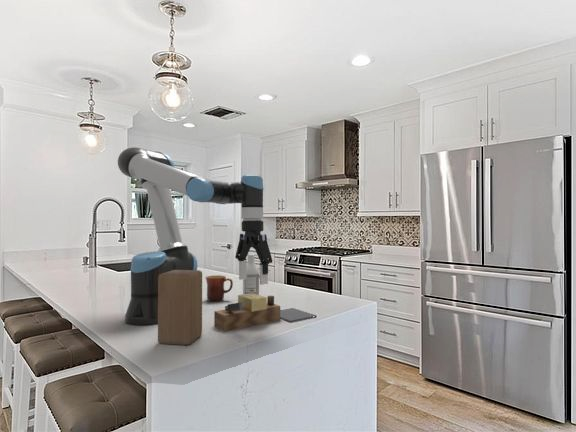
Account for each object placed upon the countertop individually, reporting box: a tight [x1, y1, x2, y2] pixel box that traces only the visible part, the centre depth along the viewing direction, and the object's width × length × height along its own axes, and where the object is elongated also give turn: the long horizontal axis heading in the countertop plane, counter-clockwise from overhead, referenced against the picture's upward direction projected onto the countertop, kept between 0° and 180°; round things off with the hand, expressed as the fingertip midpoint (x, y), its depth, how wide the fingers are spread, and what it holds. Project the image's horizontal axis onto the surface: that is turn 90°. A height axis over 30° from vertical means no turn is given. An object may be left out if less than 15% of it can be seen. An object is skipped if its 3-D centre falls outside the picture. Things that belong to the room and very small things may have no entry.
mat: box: [280, 307, 317, 323], centre depth 137 cm, size 12×14×1 cm
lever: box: [224, 302, 243, 312], centre depth 119 cm, size 2×2×9 cm
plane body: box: [213, 295, 281, 332], centre depth 127 cm, size 22×7×8 cm, turn 127°
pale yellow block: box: [237, 293, 267, 312], centre depth 128 cm, size 6×9×4 cm, turn 37°
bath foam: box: [242, 253, 260, 295], centre depth 164 cm, size 7×7×20 cm
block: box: [157, 269, 203, 346], centre depth 109 cm, size 10×10×20 cm
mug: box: [205, 274, 234, 303], centre depth 162 cm, size 12×9×10 cm
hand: (252, 281), depth 128 cm, fingers open, 13 cm apart
